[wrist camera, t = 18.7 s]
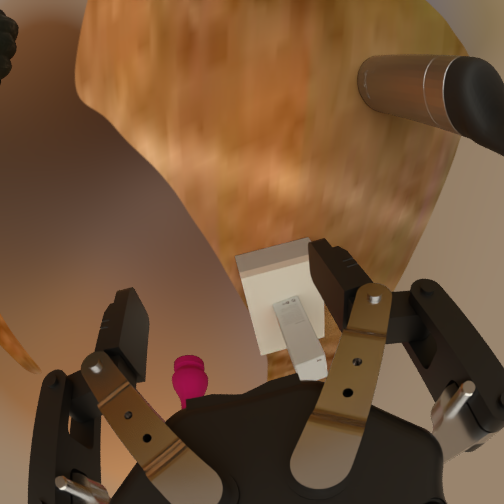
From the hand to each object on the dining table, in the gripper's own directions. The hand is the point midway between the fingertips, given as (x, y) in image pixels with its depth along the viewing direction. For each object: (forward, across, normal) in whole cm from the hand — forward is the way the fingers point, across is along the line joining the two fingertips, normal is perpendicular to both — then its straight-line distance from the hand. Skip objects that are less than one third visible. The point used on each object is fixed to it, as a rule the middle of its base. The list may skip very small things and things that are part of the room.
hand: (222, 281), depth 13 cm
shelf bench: (+28, -7, +26) cm, 39 cm away
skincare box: (+22, -7, +26) cm, 35 cm away
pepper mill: (+28, +14, +40) cm, 51 cm away
